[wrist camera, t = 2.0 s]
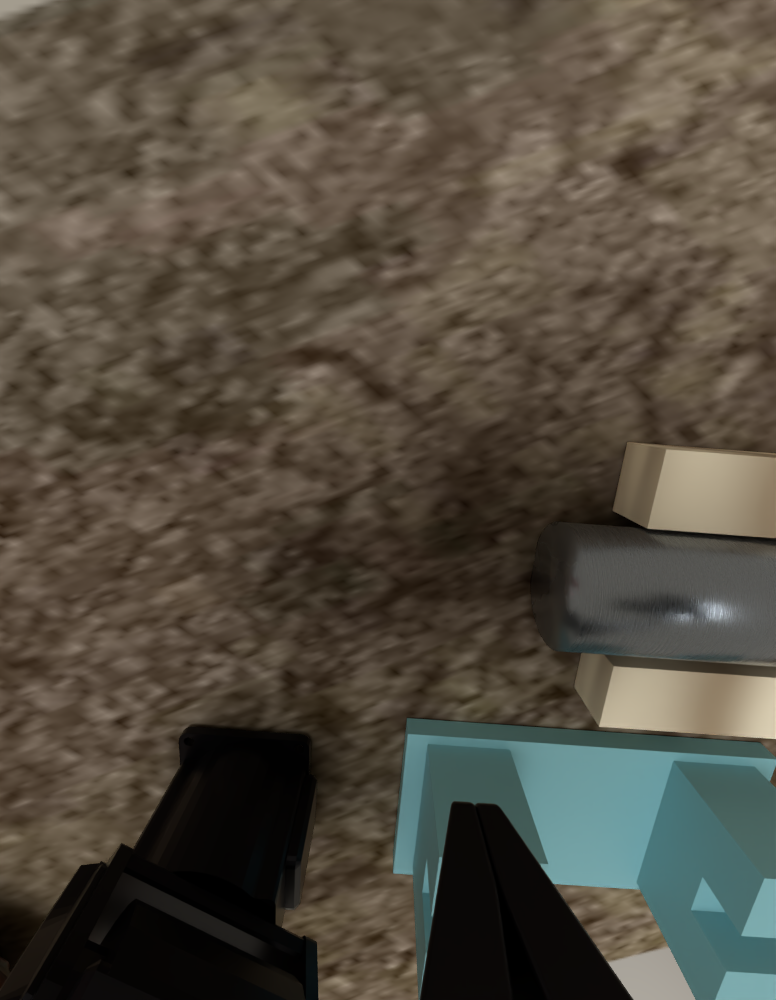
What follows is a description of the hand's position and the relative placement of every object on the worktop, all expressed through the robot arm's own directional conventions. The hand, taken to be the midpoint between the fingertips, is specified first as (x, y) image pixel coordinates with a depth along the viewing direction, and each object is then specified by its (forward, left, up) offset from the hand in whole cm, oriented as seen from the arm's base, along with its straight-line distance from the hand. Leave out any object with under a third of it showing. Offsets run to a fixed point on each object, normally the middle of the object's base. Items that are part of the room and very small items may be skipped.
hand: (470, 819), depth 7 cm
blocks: (+12, 0, -12) cm, 17 cm away
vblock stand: (+9, -13, -12) cm, 20 cm away
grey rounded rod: (+12, 0, -12) cm, 17 cm away
